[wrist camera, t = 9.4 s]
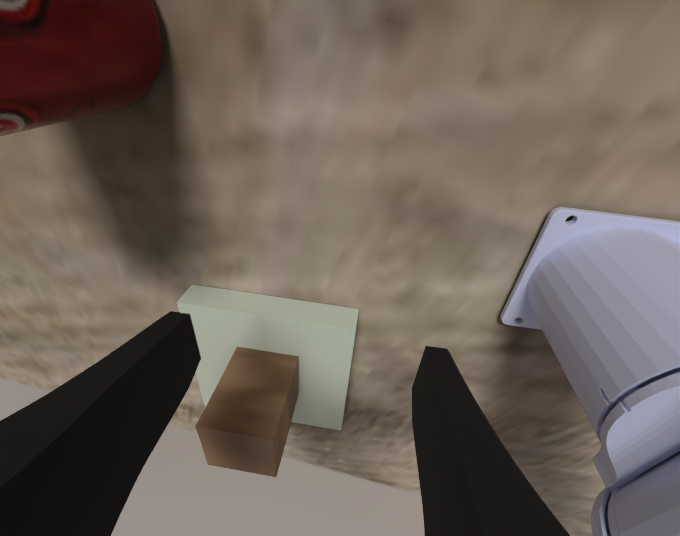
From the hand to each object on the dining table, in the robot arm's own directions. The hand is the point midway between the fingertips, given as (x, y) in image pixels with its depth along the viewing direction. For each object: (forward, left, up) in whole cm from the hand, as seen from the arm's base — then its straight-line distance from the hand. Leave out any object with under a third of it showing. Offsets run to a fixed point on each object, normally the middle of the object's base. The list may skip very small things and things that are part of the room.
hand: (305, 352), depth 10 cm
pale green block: (+4, +13, -10) cm, 17 cm away
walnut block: (+4, +13, -8) cm, 16 cm away
